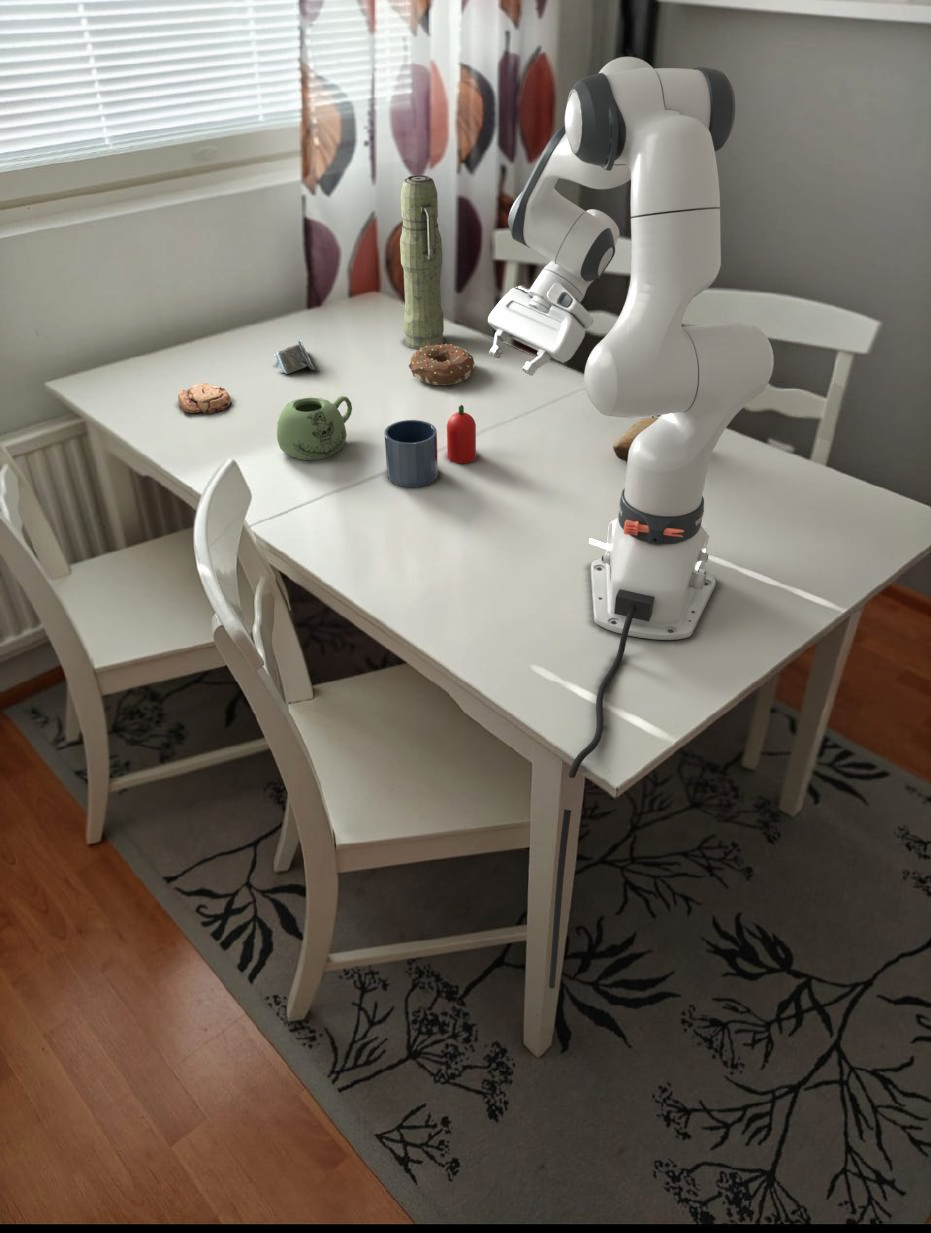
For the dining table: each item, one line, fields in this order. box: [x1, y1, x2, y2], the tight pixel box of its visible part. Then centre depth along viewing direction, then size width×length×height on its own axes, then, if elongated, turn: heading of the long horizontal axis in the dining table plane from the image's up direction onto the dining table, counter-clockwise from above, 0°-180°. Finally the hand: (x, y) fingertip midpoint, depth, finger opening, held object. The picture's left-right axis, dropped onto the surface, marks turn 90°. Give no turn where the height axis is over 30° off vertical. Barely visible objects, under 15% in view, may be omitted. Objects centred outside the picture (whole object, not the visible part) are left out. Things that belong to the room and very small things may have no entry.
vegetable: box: [612, 415, 661, 461], centre depth 180 cm, size 16×11×10 cm
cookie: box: [177, 382, 232, 414], centre depth 200 cm, size 10×11×3 cm
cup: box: [384, 419, 439, 488], centre depth 175 cm, size 9×9×8 cm
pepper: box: [446, 404, 477, 464], centre depth 180 cm, size 5×5×10 cm
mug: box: [276, 395, 353, 461], centre depth 184 cm, size 16×13×9 cm
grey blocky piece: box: [273, 337, 316, 375], centre depth 214 cm, size 10×7×12 cm
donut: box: [408, 343, 475, 386], centre depth 209 cm, size 14×14×5 cm
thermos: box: [399, 174, 445, 350], centre depth 215 cm, size 9×12×35 cm
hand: (509, 364), depth 179 cm, fingers open, 8 cm apart
